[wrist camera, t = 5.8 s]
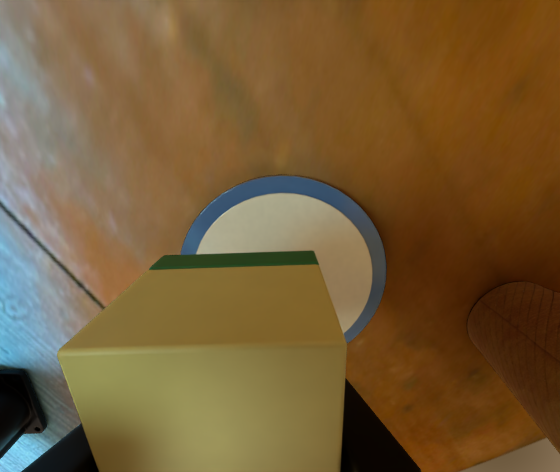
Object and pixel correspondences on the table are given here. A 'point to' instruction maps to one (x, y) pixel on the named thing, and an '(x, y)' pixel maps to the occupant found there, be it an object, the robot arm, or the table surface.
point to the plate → (301, 237)
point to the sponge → (214, 368)
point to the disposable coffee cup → (523, 347)
